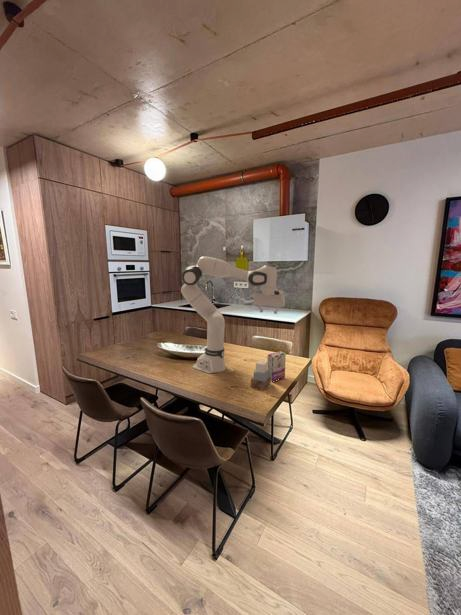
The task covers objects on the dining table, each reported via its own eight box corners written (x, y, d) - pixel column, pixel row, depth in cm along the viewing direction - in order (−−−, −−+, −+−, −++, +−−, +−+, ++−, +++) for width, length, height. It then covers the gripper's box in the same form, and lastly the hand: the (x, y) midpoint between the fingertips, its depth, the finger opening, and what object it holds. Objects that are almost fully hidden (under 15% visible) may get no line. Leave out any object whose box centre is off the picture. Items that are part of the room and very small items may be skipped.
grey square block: (253, 379, 147) (253, 372, 146) (257, 374, 153) (257, 367, 152) (265, 382, 144) (265, 374, 143) (268, 377, 150) (269, 369, 149)
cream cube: (255, 371, 147) (255, 363, 146) (258, 368, 151) (259, 360, 150) (263, 373, 145) (264, 364, 144) (266, 370, 149) (267, 361, 148)
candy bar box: (279, 375, 164) (280, 350, 161) (285, 378, 160) (286, 352, 157) (266, 379, 157) (267, 354, 154) (272, 382, 153) (273, 356, 150)
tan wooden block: (250, 387, 148) (250, 379, 147) (256, 381, 156) (256, 373, 155) (265, 391, 144) (265, 382, 143) (270, 384, 152) (270, 376, 151)
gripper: (251, 290, 163) (251, 312, 165) (283, 292, 154) (282, 315, 157) (255, 290, 169) (254, 310, 171) (286, 291, 160) (285, 313, 162)
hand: (268, 312), depth 164 cm, fingers open, 8 cm apart
